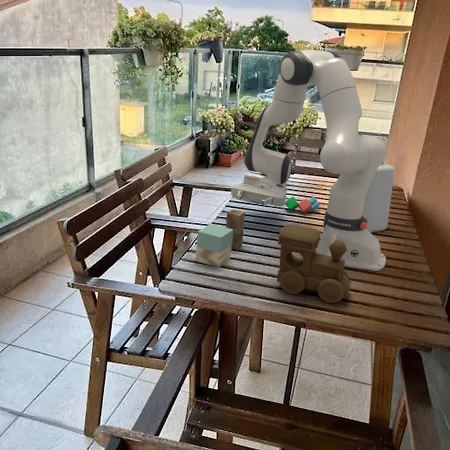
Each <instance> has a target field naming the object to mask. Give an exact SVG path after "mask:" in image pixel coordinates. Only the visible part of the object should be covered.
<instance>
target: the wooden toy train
mask: <svg viewBox="0 0 450 450" xmlns="http://www.w3.org/2000/svg"><path fill="white" fill-rule="evenodd" d="M321 235H322V230H320V229H317V228H316V229H315V228H313V227H307V226H303V225H297V224H289V223H287V224H286V225H284V226H283V228H282V229H281V230H280V232H279V234H278V236H277V237H278V239H277V245H278V246H280V253H279V268H278V270H277V277H276V282H277V283H279V284H280V287H281V289H282V290H283V291H285V292H286V293H287V294H290V295H297V294H300V293H301V292H303V291H304V290H305V289H308V290H312V291H316V292H317V294H318V297H319V298H320V299H321V300H322V301H324V302H325V303H327V304H336V303H339V302H341V301H342V300H343V298H346V299H348V296H349V294H350V289H351V286H352V281H351V280H350V279H349V274H348V272H347V271H346V269H345V266H344V265H345V260H344V259H341V257H342V256H343V255H344V253H345V252H346V250H347V248H346V246H345V244H344V242H343V241H341V240H335V241H334V242H333V243H332V244H331V245H330V246H329V249H330V252H331V256H328V255H323V254H318V253H317V252H316V248H317V246H318V244H319V242H320V239H321ZM293 252H295V253H296V254H298V255H300V256H301V257H296V256H295V255H294V253H293Z"/></svg>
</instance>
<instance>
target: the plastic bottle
mask: <svg viewBox="0 0 450 450" xmlns="http://www.w3.org/2000/svg"><path fill="white" fill-rule="evenodd" d="M384 161H385V160H384ZM384 161H383V163H382V164H381V165H380V166H379V167H378V169H377V171H376V173H375V175H374V177H373V179H372V181H371V183H370V186H369V188H368V191H367V194H366V197H365V202H364V207H363V212H362V216H363V217H364V218H365V219H366V218H367V219H368V220H367V221H368V222H367V227H366V229H367V230H368V231H369V232H370V233H375V232H381V231H382V232H383V231H386V229H387V228H388V224H389V216H390V207H391V201H392V200H391V199H392V194H393V185H394V178H395V177H394V176H395V167H394V166H392V165H390V164H387V163H384Z"/></svg>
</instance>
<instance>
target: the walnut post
mask: <svg viewBox="0 0 450 450" xmlns="http://www.w3.org/2000/svg"><path fill="white" fill-rule="evenodd" d="M245 217H246V212H245V211H242V210H236V209H231V210H229V211H228V212H227V213H226V223H225V228H229V229H233V240H232V245H231V250H234V249H235V251H238V250H239V249H240V248H241V247H243V243H244V241H243V240H244V230H245V228H244V227H245Z"/></svg>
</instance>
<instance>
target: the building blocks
mask: <svg viewBox="0 0 450 450" xmlns="http://www.w3.org/2000/svg"><path fill="white" fill-rule="evenodd" d="M285 206H286V207H287V208H288V210H289V211H290V212H293V211H294V210H296V209H297V208H299V209H300V211H301V212H302V213H303V214H305V213H307V212H309V211H310V212H313V211H315V210H317V209H318V208H319V207H321V205H320V202H319V201H318V200H317V199H316V196H312V197H311V198H309V199H307V198H304V199H303V200H301V201H299V202H298V201H297V199H296V198H295V196H291V197H290V198H288V199H287V200H285Z"/></svg>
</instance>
